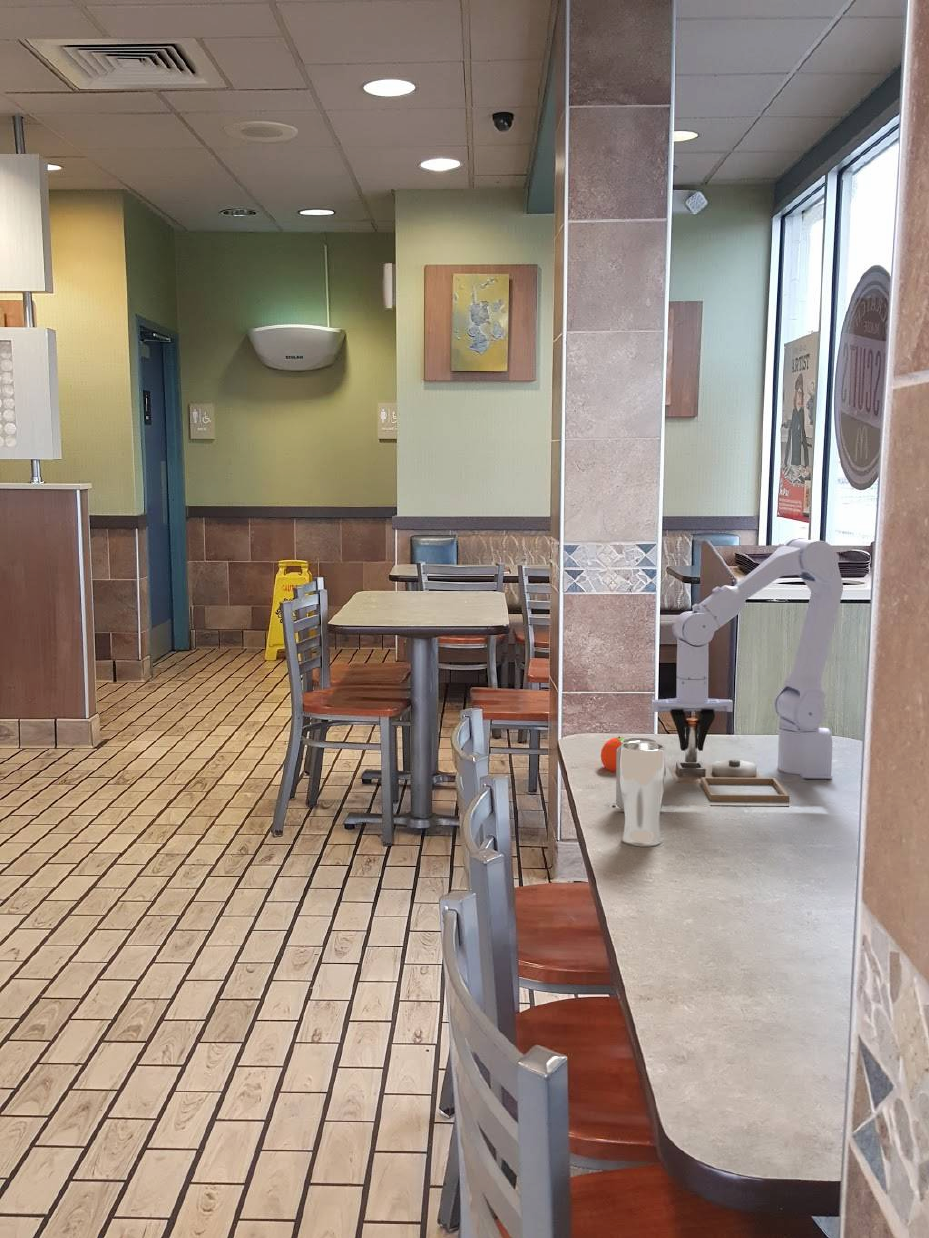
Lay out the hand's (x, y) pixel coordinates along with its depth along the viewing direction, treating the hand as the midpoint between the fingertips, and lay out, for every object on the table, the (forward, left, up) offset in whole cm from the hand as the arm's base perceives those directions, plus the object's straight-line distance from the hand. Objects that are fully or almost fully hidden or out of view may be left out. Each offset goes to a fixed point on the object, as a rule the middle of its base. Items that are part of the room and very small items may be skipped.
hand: (691, 749), depth 208 cm
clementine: (+13, -3, -6) cm, 14 cm away
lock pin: (0, 0, -2) cm, 2 cm away
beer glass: (+13, +36, -6) cm, 39 cm away
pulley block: (-4, 0, -6) cm, 7 cm away
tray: (-7, +12, -6) cm, 15 cm away
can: (+12, +20, -6) cm, 24 cm away
